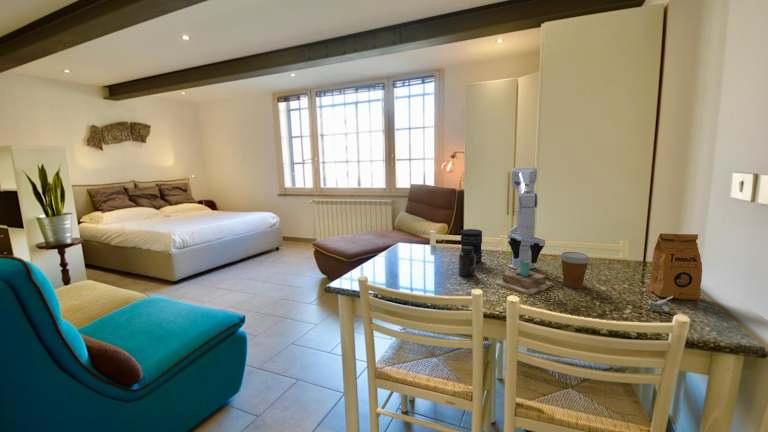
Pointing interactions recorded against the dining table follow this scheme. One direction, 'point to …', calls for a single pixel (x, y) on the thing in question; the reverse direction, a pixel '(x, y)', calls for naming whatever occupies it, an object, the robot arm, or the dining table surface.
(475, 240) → the storage jar
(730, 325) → the dining table surface
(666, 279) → the coffee package
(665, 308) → the dog figurine
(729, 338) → the dining table surface
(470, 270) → the supplement bottle
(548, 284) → the socket board
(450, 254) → the dining table surface
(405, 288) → the dining table surface
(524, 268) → the peg
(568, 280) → the disposable coffee cup
